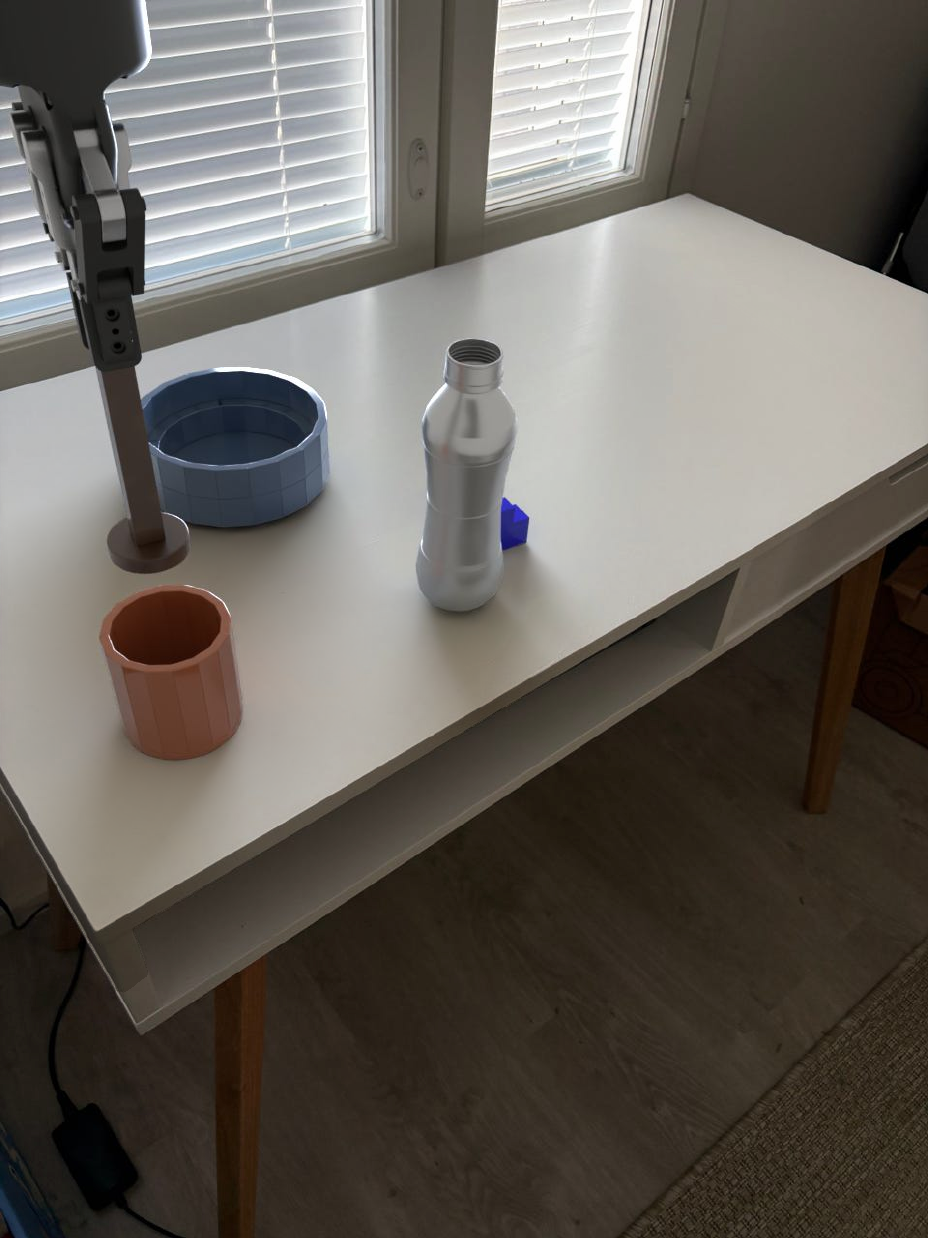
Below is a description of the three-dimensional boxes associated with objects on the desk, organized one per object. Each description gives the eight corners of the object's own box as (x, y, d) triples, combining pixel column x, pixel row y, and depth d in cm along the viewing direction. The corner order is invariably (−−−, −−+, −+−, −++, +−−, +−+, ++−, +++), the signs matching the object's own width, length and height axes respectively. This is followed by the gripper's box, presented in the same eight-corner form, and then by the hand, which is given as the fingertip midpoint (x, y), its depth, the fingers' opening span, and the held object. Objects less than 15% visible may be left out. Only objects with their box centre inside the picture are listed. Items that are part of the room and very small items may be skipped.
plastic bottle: (400, 607, 75) (404, 363, 61) (436, 555, 79) (448, 318, 66) (480, 633, 73) (503, 389, 60) (513, 578, 78) (541, 340, 64)
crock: (141, 776, 62) (118, 688, 57) (110, 694, 67) (86, 605, 62) (259, 735, 65) (248, 647, 60) (221, 659, 70) (207, 571, 64)
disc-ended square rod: (121, 583, 54) (52, 281, 43) (101, 536, 57) (31, 240, 46) (201, 561, 56) (155, 265, 45) (177, 517, 59) (129, 227, 47)
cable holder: (526, 542, 81) (531, 502, 79) (489, 554, 80) (493, 514, 77) (474, 489, 86) (477, 450, 83) (439, 500, 85) (441, 460, 82)
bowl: (174, 553, 78) (163, 489, 74) (121, 450, 87) (109, 388, 83) (357, 503, 84) (356, 442, 80) (289, 412, 93) (285, 353, 89)
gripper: (-110, -110, 39) (2, 307, 51) (-55, -34, 31) (64, 445, 43) (86, -112, 42) (150, 283, 54) (186, -43, 34) (235, 409, 46)
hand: (112, 354), depth 48 cm, fingers closed on disc-ended square rod, 1 cm apart
